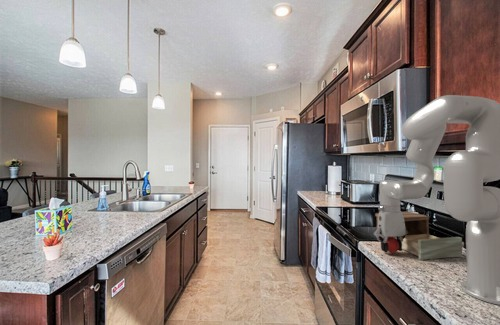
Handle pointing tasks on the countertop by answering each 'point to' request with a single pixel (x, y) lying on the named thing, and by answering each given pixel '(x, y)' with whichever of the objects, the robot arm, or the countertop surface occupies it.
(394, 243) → the onion
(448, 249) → the drawer
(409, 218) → the cabinet
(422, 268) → the countertop surface
